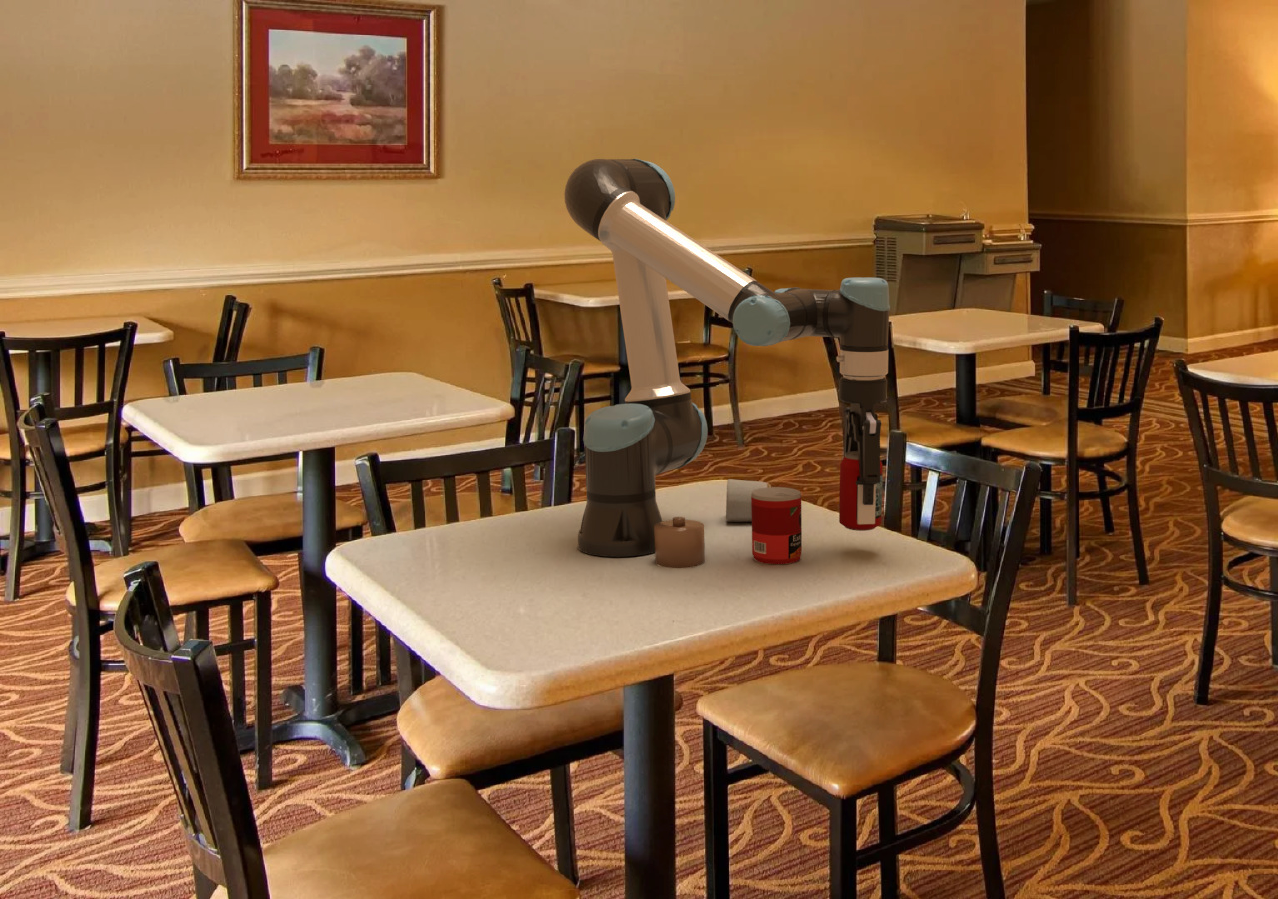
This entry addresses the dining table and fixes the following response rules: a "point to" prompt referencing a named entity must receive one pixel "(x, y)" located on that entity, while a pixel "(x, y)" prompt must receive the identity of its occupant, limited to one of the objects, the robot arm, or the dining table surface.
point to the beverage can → (855, 494)
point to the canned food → (776, 525)
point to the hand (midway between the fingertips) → (860, 517)
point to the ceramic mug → (741, 499)
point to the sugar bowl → (679, 543)
